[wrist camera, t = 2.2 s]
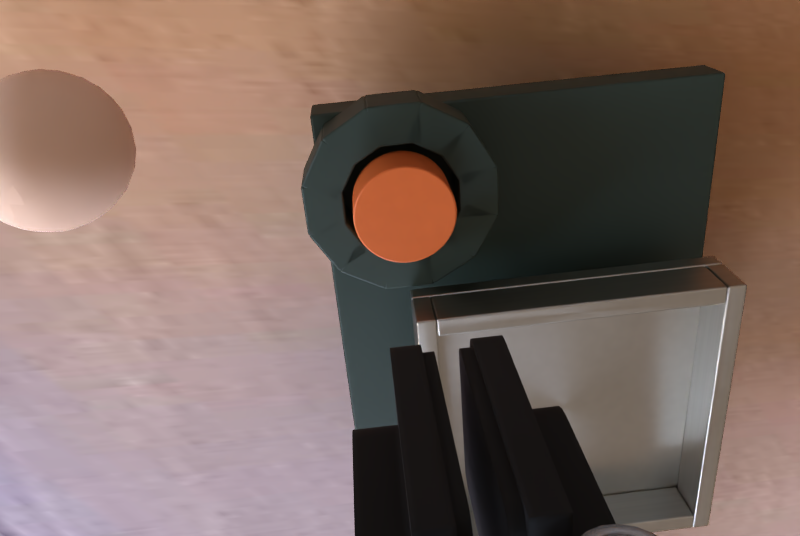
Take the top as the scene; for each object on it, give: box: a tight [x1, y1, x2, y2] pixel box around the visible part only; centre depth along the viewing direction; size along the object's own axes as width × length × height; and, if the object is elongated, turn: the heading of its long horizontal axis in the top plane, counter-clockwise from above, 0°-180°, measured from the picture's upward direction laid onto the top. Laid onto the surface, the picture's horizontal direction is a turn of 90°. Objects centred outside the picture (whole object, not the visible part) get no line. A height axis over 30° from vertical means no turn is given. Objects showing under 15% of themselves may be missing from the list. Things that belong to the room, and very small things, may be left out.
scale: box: [301, 65, 725, 430], centre depth 25 cm, size 16×14×3 cm
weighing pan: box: [410, 256, 747, 536], centre depth 24 cm, size 10×10×2 cm
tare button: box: [352, 151, 457, 263], centre depth 21 cm, size 3×3×2 cm
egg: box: [0, 69, 136, 232], centre depth 20 cm, size 4×4×6 cm
